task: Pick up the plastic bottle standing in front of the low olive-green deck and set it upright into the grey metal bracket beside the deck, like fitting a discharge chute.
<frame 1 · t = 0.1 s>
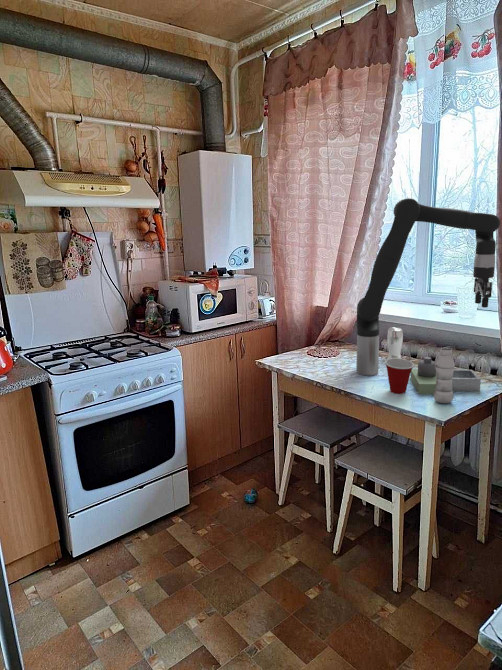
hand: (481, 305, 188), 29 cm above the table, fingers open, 8 cm apart
plastic cup: (398, 391, 179), on the table
plastic bottle: (442, 402, 167), on the table
chute bracket: (459, 386, 182), on the table
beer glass: (394, 360, 218), on the table
deck: (430, 385, 183), on the table
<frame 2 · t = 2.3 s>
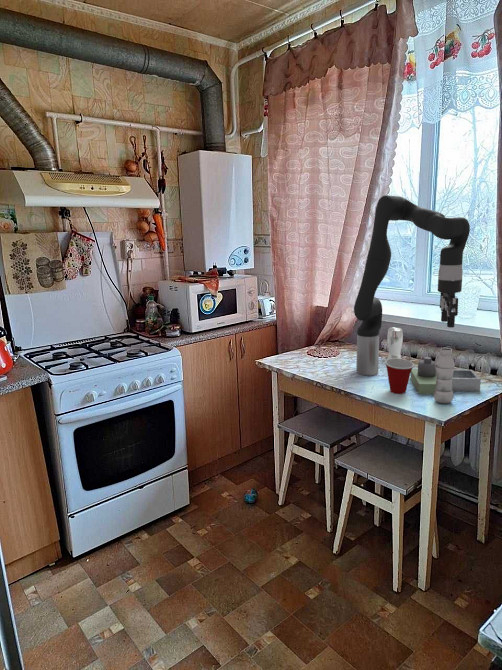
hand: (447, 324, 160), 29 cm above the table, fingers open, 8 cm apart
nothing on the table moved.
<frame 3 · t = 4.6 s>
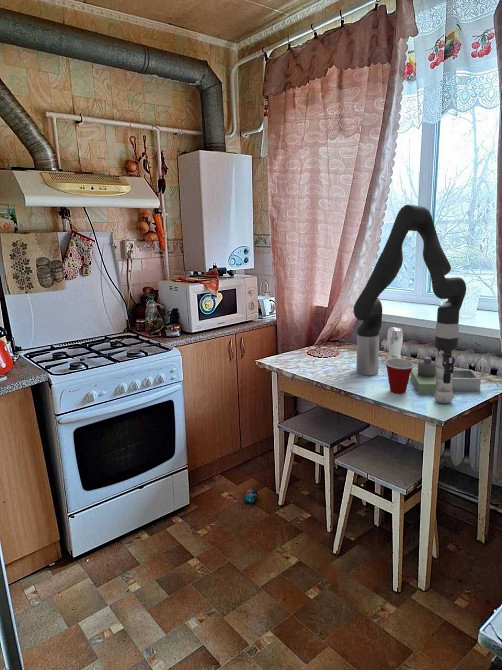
hand: (444, 379, 165), 9 cm above the table, fingers closed on plastic bottle, 6 cm apart
plastic bottle: (442, 402, 167), on the table, touching gripper
everything else where it was.
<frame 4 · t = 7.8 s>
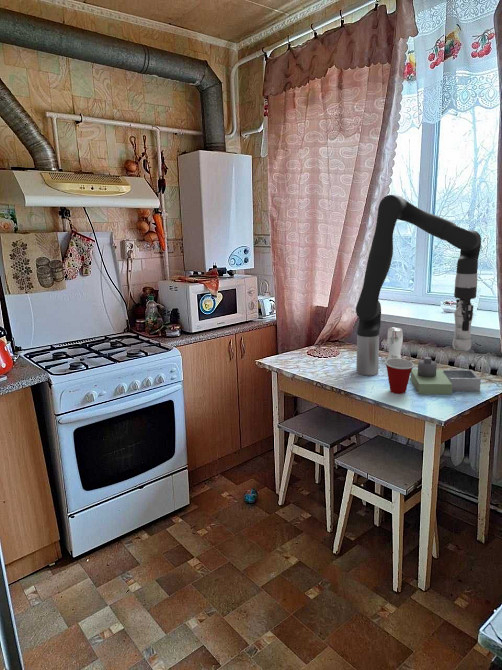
hand: (462, 328, 176), 23 cm above the table, fingers closed on plastic bottle, 6 cm apart
plastic bottle: (461, 350, 178), point 15 cm above the table, touching gripper
everything else where it was.
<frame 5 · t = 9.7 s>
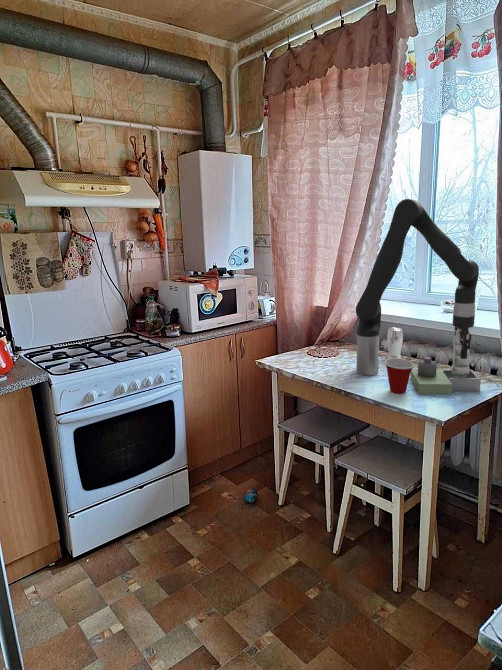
hand: (461, 356, 179), 12 cm above the table, fingers closed on plastic bottle, 6 cm apart
plastic bottle: (459, 377, 181), point 4 cm above the table, touching gripper
everything else where it was.
when the fingers open (10 cm above the table, at t = 11.2 s): plastic bottle drops 1 cm, on the table.
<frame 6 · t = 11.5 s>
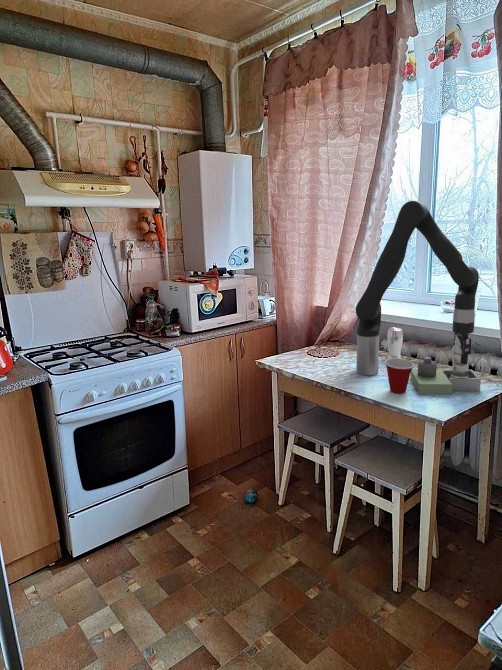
hand: (460, 360, 179), 11 cm above the table, fingers open, 8 cm apart
plastic bottle: (458, 386, 182), on the table
everything else where it was.
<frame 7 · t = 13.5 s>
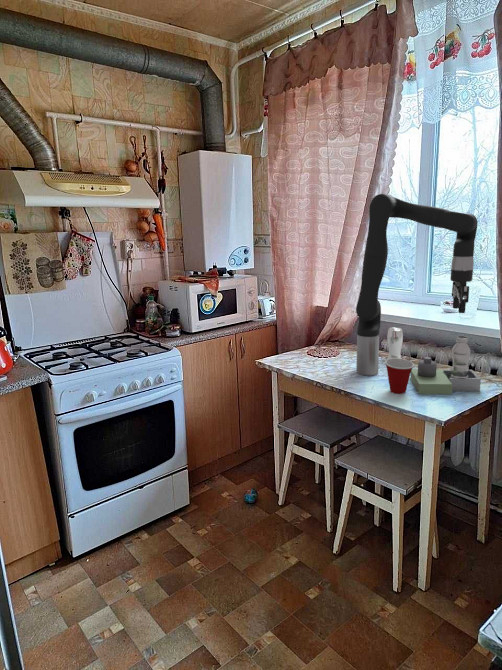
hand: (458, 310, 177), 30 cm above the table, fingers open, 8 cm apart
nothing on the table moved.
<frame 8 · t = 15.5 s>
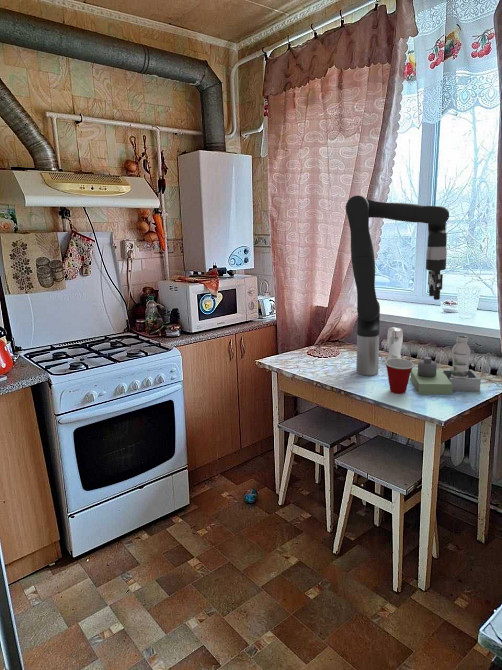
hand: (434, 297, 188), 33 cm above the table, fingers open, 8 cm apart
nothing on the table moved.
at the end: plastic bottle inside the target area (0.4 cm from its centre), on the table; plastic bottle tilted 0°; the gripper is holding nothing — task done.
